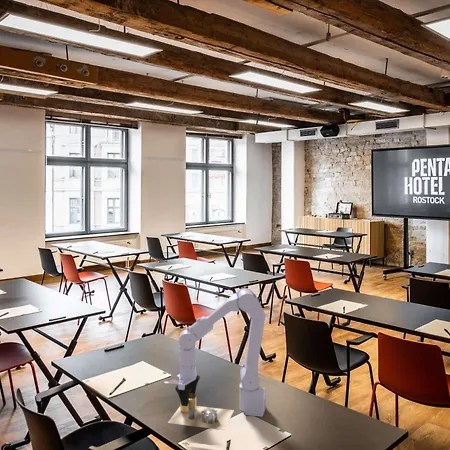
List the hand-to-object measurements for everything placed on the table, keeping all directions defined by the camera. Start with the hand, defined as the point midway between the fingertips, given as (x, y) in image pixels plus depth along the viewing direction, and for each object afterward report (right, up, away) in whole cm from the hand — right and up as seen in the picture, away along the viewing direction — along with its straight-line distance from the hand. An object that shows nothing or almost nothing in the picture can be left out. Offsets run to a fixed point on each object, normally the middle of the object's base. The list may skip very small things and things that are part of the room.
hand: (188, 400), depth 172 cm
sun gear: (+8, -5, -7) cm, 12 cm away
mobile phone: (-6, -3, +21) cm, 22 cm away
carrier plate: (+5, -5, -4) cm, 8 cm away
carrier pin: (+2, -5, -6) cm, 8 cm away
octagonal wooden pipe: (0, -3, 0) cm, 3 cm away
